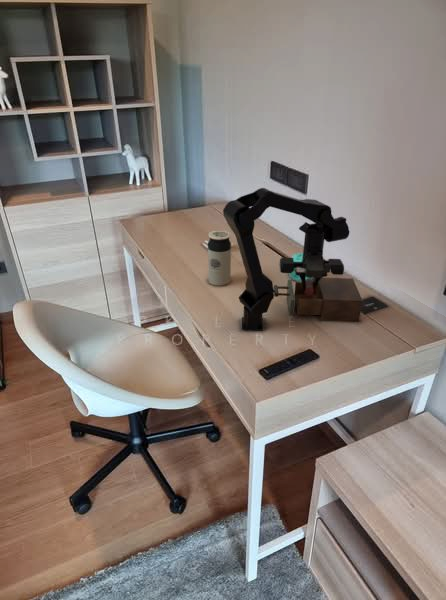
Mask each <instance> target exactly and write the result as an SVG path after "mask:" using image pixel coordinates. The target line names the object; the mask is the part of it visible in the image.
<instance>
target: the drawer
mask: <svg viewBox="0 0 446 600" xmlns="http://www.w3.org/2000/svg"><path fill="white" fill-rule="evenodd" d="M292 280H293V279H287V284H286V286H284V285H283V286H280V285H277V284H273V289H274V291H275V293H273V294H274V297H276V298H277V297H279V296H280V297H281V296H286V301H287V309H288V315H289V317H294V313H295V308H296V314H297V315H306V316H307V315H308V316H310V315H311V316H320V315H321V312H322V305H323V298H322V295H321V291H320V288H319V284H317V285H316V287H315V289H314V291H313V297H305V293H304V289H303V285H302V282H298V281H295V283H294V284H295V285H294V286H293V281H292ZM279 290H286V292H279Z"/></svg>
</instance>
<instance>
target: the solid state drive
mask: <svg viewBox="0 0 446 600" xmlns="http://www.w3.org/2000/svg"><path fill="white" fill-rule="evenodd" d="M362 300H363V302H362V307H361V312H362V313H363V314H364V315H368V314H370V313H374V312H377V311H379V310H383V309H385V308H388V307H389V305H388V304H386V303H385V302H383V301H381V300H379V299H378V298H376V297H374V296H370V297H367V298H364V299H363V298H362Z"/></svg>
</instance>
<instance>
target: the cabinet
mask: <svg viewBox="0 0 446 600" xmlns="http://www.w3.org/2000/svg"><path fill="white" fill-rule="evenodd" d="M318 284H319V288H320V291H321V295H322V298H323V305H322V312H321V315H319V318H320V321H321V322H323V321H325V322H351V323H352V322H355V323H359V321H360V317H361V312H362V311H361V307H362V302H363V298H362V295H361V294H360V291H359V289H358V287H357V285H356V282H355V280H354V278H349V277H347V278H346V277H322V278H321V279H320V280H319V282H318Z"/></svg>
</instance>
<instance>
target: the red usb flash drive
mask: <svg viewBox="0 0 446 600" xmlns="http://www.w3.org/2000/svg"><path fill="white" fill-rule="evenodd" d="M312 282H313V279H311V280H306V288H305V291H304V293H305V297H313V289H314V287H313V283H312Z"/></svg>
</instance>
